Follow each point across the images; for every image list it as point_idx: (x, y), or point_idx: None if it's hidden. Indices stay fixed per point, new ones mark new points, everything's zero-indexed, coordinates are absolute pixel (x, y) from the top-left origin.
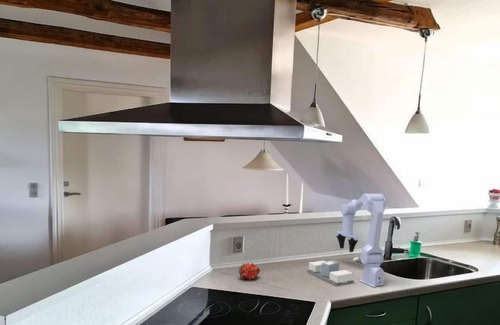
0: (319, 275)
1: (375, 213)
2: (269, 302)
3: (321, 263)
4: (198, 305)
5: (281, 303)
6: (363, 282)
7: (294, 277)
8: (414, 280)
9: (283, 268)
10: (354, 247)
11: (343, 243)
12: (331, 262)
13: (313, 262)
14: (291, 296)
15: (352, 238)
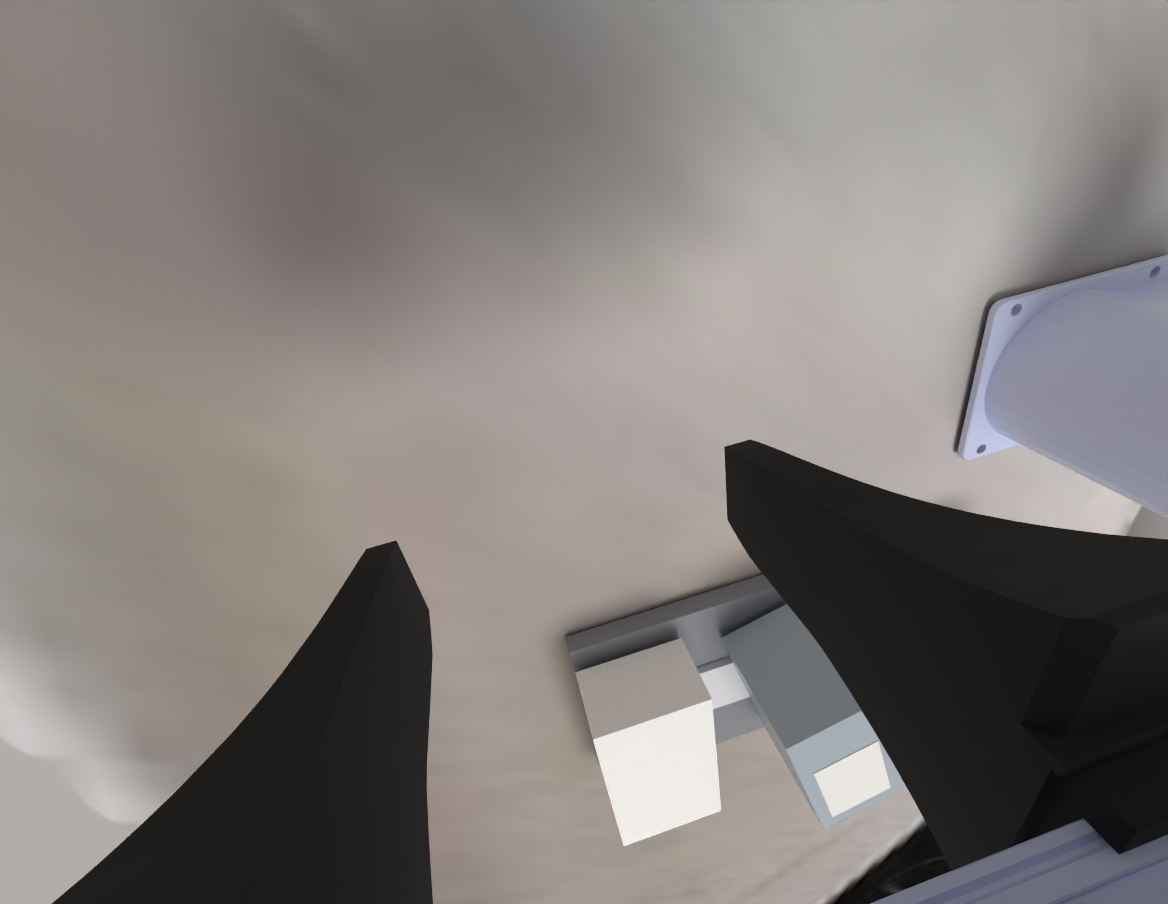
0: (750, 724)
1: None
2: (894, 882)
3: (684, 769)
4: None
5: (925, 855)
6: (1015, 443)
7: (683, 826)
8: None
9: (486, 879)
10: (847, 479)
11: (376, 655)
12: (852, 765)
13: (632, 819)
14: (895, 832)
15: (1153, 866)
